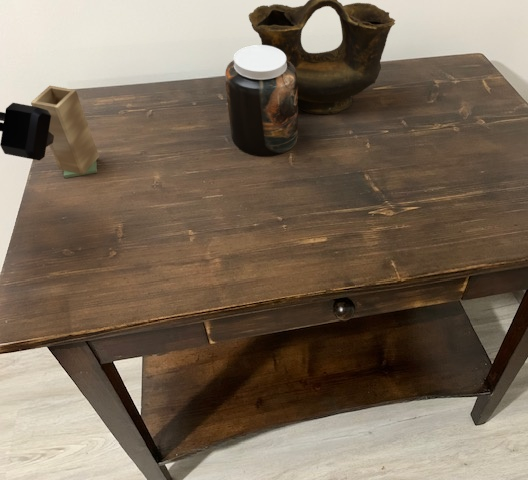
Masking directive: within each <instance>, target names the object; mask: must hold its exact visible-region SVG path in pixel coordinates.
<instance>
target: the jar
mask: <svg viewBox="0 0 528 480" xmlns="http://www.w3.org/2000/svg"><path fill="white" fill-rule="evenodd" d="M224 80H225V90H226V91H225V92H226V93H225V94H226V102H227V110H228V119H229V127H230V134H231V140H232V142H233V143H234V145H235V146H236V147H237V148H238V149H239V150H241V151H242V152H245V153H247V154H249V155H253V156H258V157H273V156H278V155H282V154H285V153H286V152H288V151H289V150H291V149H292V148H294V146H296V144H297V141H298V138H299V109H298V88H297V74H296V70H295V68H294V66H293V65H292V64H291V63H290V62H289V61H288V60H287V59H286V55H285V54H284V52H282V51H281V50H279V49H278V48H275V47H272V46H267V45H262V44H253V45H248V46H244V47H242V48H240V49H238V50H236V52H235V53H234V55H233V60H231V61H230V62H229V63H228V65H227V66H226V68H225V74H224Z"/></svg>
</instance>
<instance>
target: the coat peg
mask: <svg viewBox="0 0 528 480" xmlns="http://www.w3.org/2000/svg"><path fill="white" fill-rule="evenodd" d="M97 163H98V162H97V160H96V161H95V162H94V163H93V164H92V165H91V167H90V168H89V169H88V170H87V171H86V172H85V174H80V173H74V172H69V171H64V170H63V177H64V179H68V178H73V177H79V176H85V175H91V174H97V173H98V164H97Z"/></svg>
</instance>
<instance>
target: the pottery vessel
mask: <svg viewBox="0 0 528 480" xmlns="http://www.w3.org/2000/svg"><path fill="white" fill-rule="evenodd" d="M325 7H330V8H332V9H333V10H334V11H335V12H336V14H337V16H338V17H339V22H340V27H341V36H342V37H341V38H342V39H341V43H340V44H339V45H338V46H337V47H336V48H334V49H332V50H328V51H322V52H308V51H307V50H305V48H304V47H303V44H302V33H303V29H304V28H305V26H306V25H307V23H308V21H309V20H310V18H311V17H312V16H313V15H314V13H315V12H316V11H318V10H320V9H322V8H325ZM248 20H249V22H250V24H251V27H252V29H253V30H254V32H256V33H257V34H258V36H259V38H260V41H261V45H267V46H272V47H275V48H278V49H279V50H281V51H282V52H284V54H285V55H286V59H287V60H288V61H289V62H290V63H291V64H292V65H293V66H294V68H295V70H296V74H297V88H298V110H300V111H303V112H305V113H309V114H314V115H331V114H333V115H334V114H337V113H341V112H342V111H344V110H347V109H349V108H350V107H351V106H352V104H353V98H352V97H353V96H356V95H358V94H359V93H361V92H363V91H364V90H366V89H367V88H369V87H370V86H372V85H374V84H375V83H376V81H377V79H378V77H379V75H380V71H381V69H382V65H381V60H382V57H383V53H384V50H385V47H386V45H387V41H388V40H387V39H388V37H389V34H390V31H391V28H392V27H393V26H394V25H395V24H396V20H395V19H394V18H392V17H390V12H389V11H385V10H384V9H383V8H380V7H378V6H377V5H375V4H372V3H369V2H368V3H367V2H354V3H353V2H352V3H349V4H345V5H343V4H342V2H339V0H308V1H306V3H304V4H303V5H299V6H293V7H292V6H289V5H284V4H278V3H276V4H275V3H273V4H271V5H260V6H257V7H256V8H255V9H253V12H250V13H249V14H248Z"/></svg>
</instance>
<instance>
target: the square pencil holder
mask: <svg viewBox="0 0 528 480" xmlns="http://www.w3.org/2000/svg"><path fill="white" fill-rule="evenodd" d="M30 104H31V105H30V106H35V107H39V108H42V109H45V110H48V111H49V113H50V114H51V120H50V127H49V132H50V133H51V134H53V135H54V140H53V143H52V144H51V145H49V146H48V147H49V149H50V151H51V153H52V155H53V158H54V160H55V163H56V164H57V168H58V170H60V171H63V172H64V171H69V172H74V173H80V174H85V172H86V171H87V170H88V169H89V168H90V167H91V165H92V164H93V163H94V162H95V161H96V162H97V160H98V159H99V157H100V154H99V152H98V149H97V146H96V143H95V140H94V137H93V134H92V131H91V129H90V126H89V123H88V120H87V117H86V115H85V112H84V109H83V106H82V103H81V100H80V98H79V94H78V91H77V89H72V88H67V87H61V86H54V85H49V86H47V87H46V88H45V89H44V90H43V91H42V92H40V93H39V95H37V96H36V97H35V98H34V99H32V101H30Z"/></svg>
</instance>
